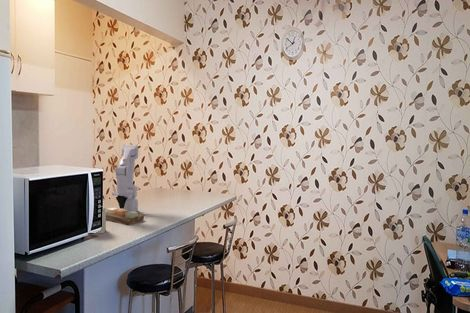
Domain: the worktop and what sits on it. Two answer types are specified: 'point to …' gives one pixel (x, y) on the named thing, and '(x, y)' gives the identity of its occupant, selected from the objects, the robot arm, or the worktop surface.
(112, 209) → the ivory cube
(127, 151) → the robot arm
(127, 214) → the block
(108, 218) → the slotted board
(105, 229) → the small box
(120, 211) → the salmon pink cube
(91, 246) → the worktop surface
